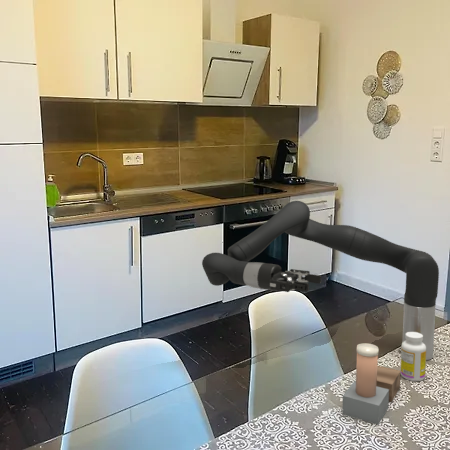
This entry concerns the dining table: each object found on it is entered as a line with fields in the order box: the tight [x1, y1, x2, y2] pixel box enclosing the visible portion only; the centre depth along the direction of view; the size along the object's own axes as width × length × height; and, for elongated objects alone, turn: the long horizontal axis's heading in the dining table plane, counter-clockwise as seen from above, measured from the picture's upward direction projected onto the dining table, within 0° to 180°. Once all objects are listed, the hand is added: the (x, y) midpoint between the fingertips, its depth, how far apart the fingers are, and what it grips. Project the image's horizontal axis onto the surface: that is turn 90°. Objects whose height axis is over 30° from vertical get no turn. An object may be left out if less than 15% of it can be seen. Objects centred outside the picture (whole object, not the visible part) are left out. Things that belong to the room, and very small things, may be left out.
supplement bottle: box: [400, 332, 427, 382], centre depth 137 cm, size 7×7×13 cm
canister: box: [355, 343, 379, 397], centre depth 119 cm, size 5×5×12 cm
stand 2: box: [376, 365, 402, 403], centre depth 130 cm, size 9×9×5 cm
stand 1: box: [342, 380, 390, 426], centre depth 120 cm, size 9×9×5 cm
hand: (314, 283), depth 129 cm, fingers open, 8 cm apart
